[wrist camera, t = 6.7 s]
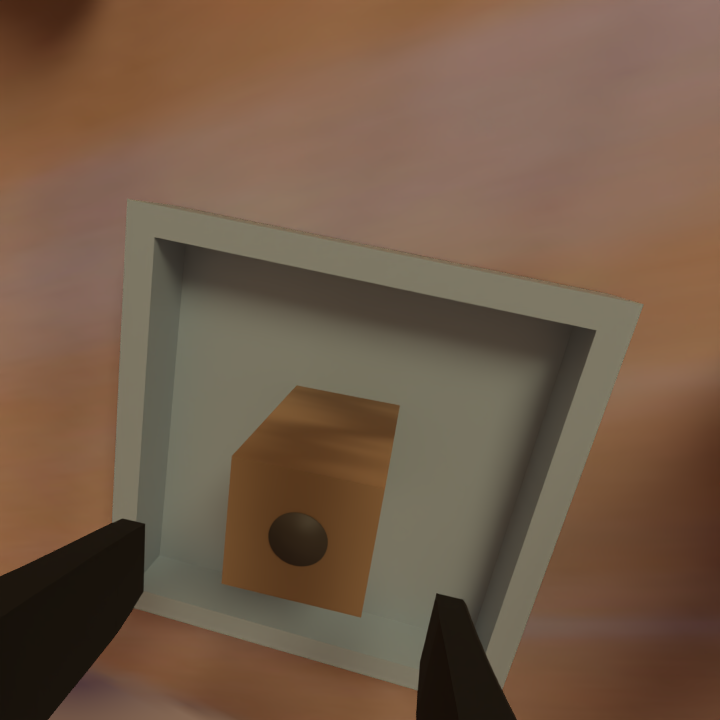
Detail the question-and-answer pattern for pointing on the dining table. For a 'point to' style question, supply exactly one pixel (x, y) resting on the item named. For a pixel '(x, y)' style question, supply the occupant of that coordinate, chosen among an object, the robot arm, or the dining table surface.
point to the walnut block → (310, 499)
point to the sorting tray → (364, 380)
